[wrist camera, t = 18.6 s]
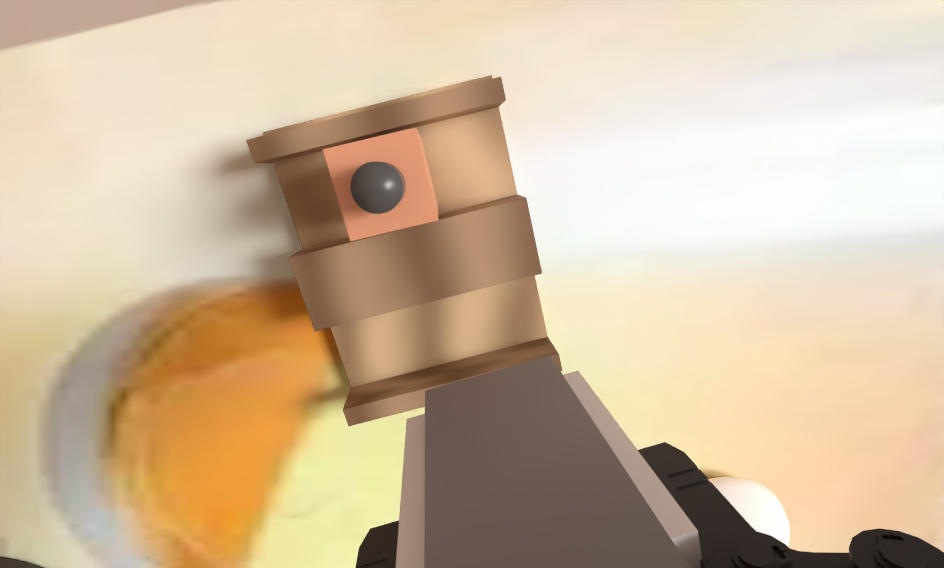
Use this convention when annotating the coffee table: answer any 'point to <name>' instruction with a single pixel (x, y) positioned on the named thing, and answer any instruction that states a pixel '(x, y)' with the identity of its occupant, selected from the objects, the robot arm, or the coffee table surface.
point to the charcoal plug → (530, 480)
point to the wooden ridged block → (417, 252)
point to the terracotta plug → (382, 183)
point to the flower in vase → (755, 506)
